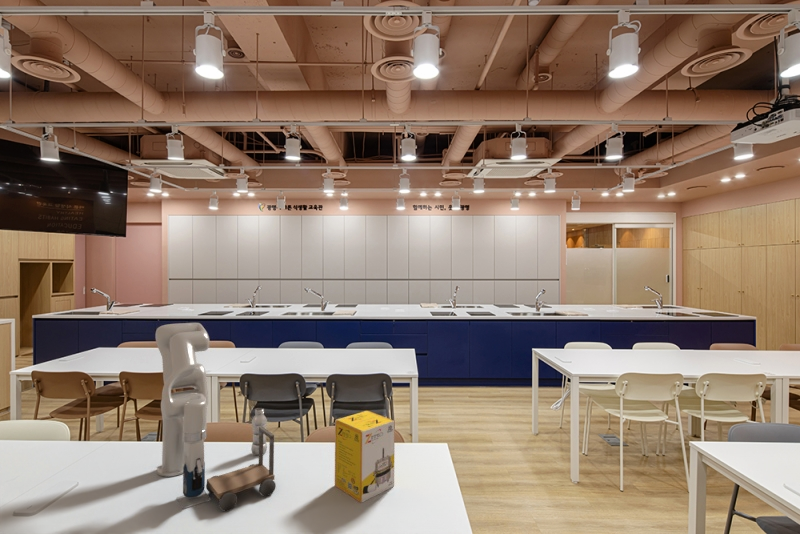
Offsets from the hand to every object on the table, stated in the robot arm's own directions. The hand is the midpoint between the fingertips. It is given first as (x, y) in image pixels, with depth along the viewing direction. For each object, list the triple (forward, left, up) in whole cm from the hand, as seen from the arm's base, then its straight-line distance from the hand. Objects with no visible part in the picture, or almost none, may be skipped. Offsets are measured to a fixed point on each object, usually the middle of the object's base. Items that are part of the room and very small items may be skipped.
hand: (193, 484), depth 144 cm
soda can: (0, 0, -3) cm, 3 cm away
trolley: (+8, +14, -5) cm, 17 cm away
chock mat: (0, 0, -5) cm, 5 cm away
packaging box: (+33, +52, -5) cm, 62 cm away
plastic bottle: (-20, +32, -5) cm, 38 cm away
